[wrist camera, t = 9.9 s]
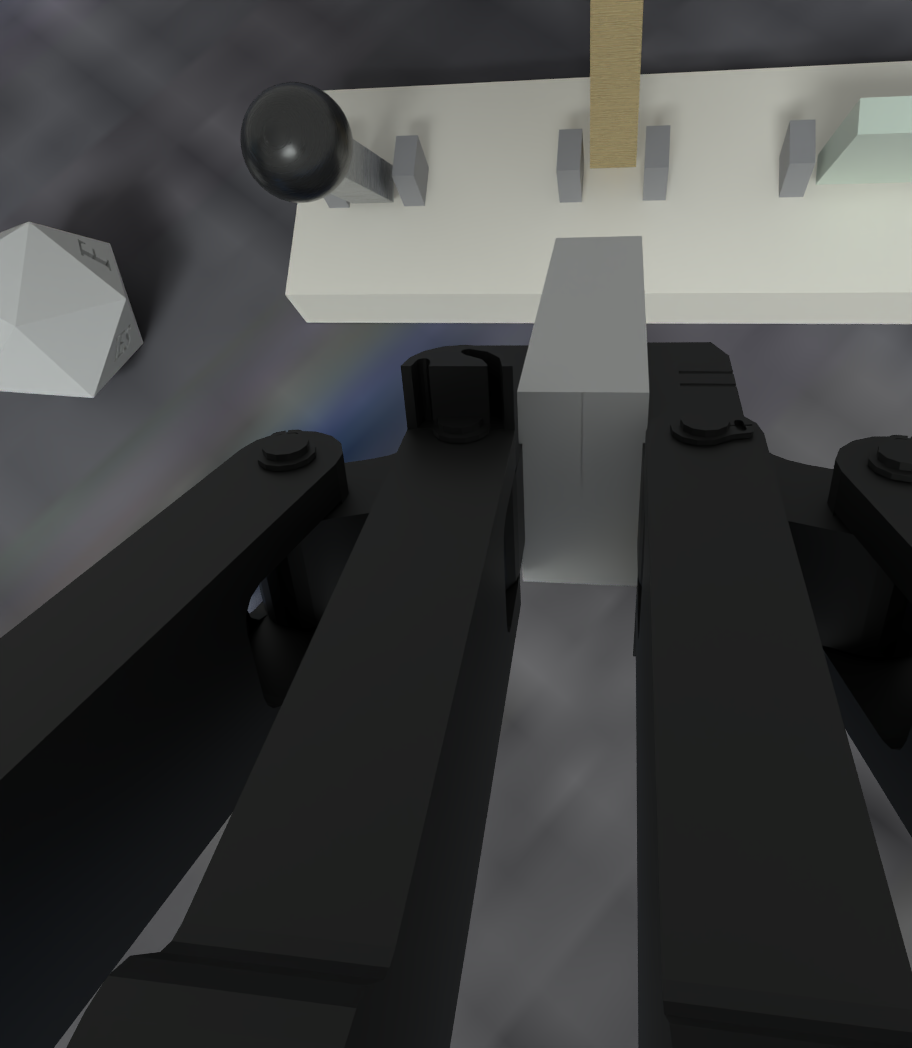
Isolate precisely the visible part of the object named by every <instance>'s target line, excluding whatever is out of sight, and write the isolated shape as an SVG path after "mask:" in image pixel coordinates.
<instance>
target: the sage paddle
mask: <svg viewBox="0 0 912 1048" xmlns="http://www.w3.org/2000/svg"><path fill="white" fill-rule="evenodd" d="M901 182H912V96H894V97H871V98H860V99H859V101H858V102H857V103H856V105H855V106H854V107H853V109H852V110H851V111H850V113H849V114H848V115H847V117H846V118H845V119H844V121H843V122H842V123H841V125H840V126H839V127H838V129H837V130H836V131H835V133H834V134H833V135H832V137H831V138H830V139H829V141H828V142H827V143H826V145H825V146H824V147H823V149H822V150H821V151H820V153H819V154H818V158H817V172H816V185H824V184H862V183H901Z"/></svg>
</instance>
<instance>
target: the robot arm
mask: <svg viewBox="0 0 912 1048" xmlns="http://www.w3.org/2000/svg"><path fill="white" fill-rule="evenodd" d="M401 372H402V382H403V391H404V400H405V409H406V419H407V428H408V429H407V432H406V434H405V436H404V438H403V440H402V443H401V445H400V447H399V449H398V451H397V453H395V454H392V455H389V456H384V457H379V458H375V459H369V460H362V461H355V462H348V463H344V458H343V452H342V446H341V443H340V442H339V441H337V440H336V439H335V438H334V437H332V436H330V435H326V434H323V433H319V432H310V431H301V430H288V432H286V431H281V432H276V433H273V434H272V435H271V436H268V437H265V438H262V439H259V440H256V441H254V442H253V443H251V444H249V445H247V446H246V447H244V448H242V449H241V450H239V451H238V452H237V453H236V454H234V455H233V456H232V457H231V458H229V459H228V460H227V461H225V462H224V463H223V464H222V465H220V466H219V467H218V468H217V469H215V470H214V471H213V472H211V473H210V474H209V475H208V476H206V477H205V478H204V479H203V480H201V481H200V482H199V483H197V484H196V485H195V486H194V487H192V488H191V489H190V490H189V491H187V492H186V493H185V494H183V495H182V496H181V497H180V498H178V499H177V500H176V501H175V502H173V503H172V504H171V505H169V506H168V507H167V508H166V509H164V510H163V511H162V512H161V513H159V514H158V515H157V516H155V517H154V518H153V519H152V520H150V521H149V522H148V523H147V524H145V525H144V526H143V527H141V528H140V529H139V530H138V531H136V532H135V533H134V534H133V535H131V536H130V537H129V538H127V539H126V540H125V541H124V542H122V543H121V544H120V545H119V546H117V547H116V548H115V549H113V550H112V551H111V552H110V553H108V554H107V555H106V556H105V557H103V558H102V559H101V560H99V561H98V562H97V563H96V564H94V565H93V566H92V567H91V568H89V569H88V570H87V571H85V572H84V573H83V574H82V575H80V576H79V577H78V578H77V579H75V580H74V581H73V582H71V583H70V584H69V585H68V586H66V587H65V588H64V589H63V590H61V591H60V592H59V593H57V594H56V595H55V596H54V597H52V598H51V599H50V600H49V601H47V602H46V603H45V604H43V605H42V606H41V607H40V608H38V609H37V610H36V611H35V612H33V613H32V614H31V615H29V616H28V617H27V618H26V619H24V620H23V621H22V622H21V623H19V624H18V625H17V626H15V627H14V628H13V629H12V630H10V631H9V632H8V633H7V634H5V635H4V636H3V637H1V638H0V1048H54V1047H55V1045H56V1044H57V1043H58V1041H59V1040H60V1039H61V1037H62V1036H63V1035H64V1034H65V1032H66V1031H67V1030H68V1028H69V1027H70V1026H71V1024H72V1023H73V1022H74V1020H75V1019H76V1018H77V1016H78V1015H79V1014H80V1012H81V1011H82V1010H83V1008H84V1007H85V1006H86V1005H87V1003H88V1002H89V1001H90V999H91V998H92V997H93V995H94V994H95V993H96V991H97V990H98V989H99V987H100V986H101V985H102V986H101V987H100V989H99V990H98V992H97V994H96V995H95V997H94V998H93V1000H92V1002H91V1003H90V1005H89V1006H88V1008H87V1009H86V1011H85V1013H84V1015H83V1016H82V1018H81V1020H80V1022H79V1024H78V1026H77V1028H76V1030H75V1032H74V1034H73V1036H72V1038H71V1040H70V1042H69V1044H68V1046H67V1048H450V1042H451V1036H452V1030H453V1024H454V1018H455V1011H456V1005H457V999H458V993H459V986H460V980H461V974H462V968H463V961H464V955H465V949H466V943H467V936H468V930H469V924H470V918H471V912H472V905H473V899H474V893H475V887H476V880H477V874H478V868H479V862H480V855H481V849H482V843H483V837H484V831H485V824H486V818H487V812H488V806H489V799H490V793H491V787H492V781H493V774H494V768H495V762H496V756H497V749H498V743H499V737H500V731H501V725H502V718H503V712H504V706H505V700H506V693H507V687H508V681H509V675H510V668H511V662H512V656H513V650H514V643H515V637H516V631H517V625H518V619H519V612H520V606H521V596H520V568H521V562H522V564H523V581H530V582H552V583H575V584H597V585H620V586H637V595H636V613H635V631H634V649H633V656H636V731H637V888H638V1044H639V1048H912V971H911V968H910V964H909V960H908V957H907V953H906V949H905V946H904V942H903V938H902V935H901V931H900V927H899V924H898V920H897V917H896V913H895V909H894V906H893V902H892V898H891V895H890V891H889V887H888V884H887V880H886V876H885V873H884V869H883V866H882V862H881V858H880V855H879V851H878V847H877V844H876V840H875V836H874V833H873V829H872V825H871V822H870V818H869V815H868V811H867V807H866V804H865V800H864V796H863V793H862V789H861V785H860V782H859V778H858V774H857V771H856V767H855V764H854V760H853V756H852V753H851V749H850V745H849V742H848V738H847V734H846V731H847V732H848V734H849V736H850V737H851V739H852V741H853V742H854V744H855V746H856V747H857V749H858V750H859V752H860V754H861V755H862V757H863V759H864V760H865V762H866V763H867V765H868V767H869V768H870V770H871V772H872V773H873V775H874V777H875V778H876V780H877V781H878V783H879V785H880V786H881V788H882V790H883V791H884V793H885V794H886V796H887V798H888V799H889V801H890V803H891V804H892V806H893V808H894V809H895V811H896V812H897V814H898V816H899V817H900V819H901V821H902V822H903V824H904V825H905V827H906V829H907V830H908V832H909V834H910V835H911V837H912V437H911V439H910V438H908V436H902V435H892V436H890V437H869V438H864V439H859V440H855V441H852V442H850V443H849V444H847V445H845V446H843V447H842V448H840V449H839V452H838V454H837V457H836V460H835V465H834V469H828V468H823V467H817V466H811V465H806V464H802V463H798V462H793V461H789V460H786V459H783V458H781V457H778V456H775V455H773V454H771V453H769V450H768V447H767V443H766V439H765V436H764V433H763V432H762V430H761V429H760V427H759V426H758V425H757V423H755V422H753V421H751V420H750V419H748V418H746V417H744V415H743V411H742V407H741V403H740V399H739V395H738V391H737V387H736V382H735V378H734V374H733V370H732V366H731V362H730V358H729V355H727V354H726V353H725V352H723V351H722V350H721V349H719V348H718V347H717V346H715V345H714V344H712V343H711V342H682V343H647V332H646V311H645V290H644V269H643V248H642V236H615V237H574V238H556V240H555V244H554V248H553V252H552V256H551V260H550V264H549V267H548V271H547V275H546V279H545V283H544V287H543V291H542V295H541V299H540V303H539V307H538V311H537V315H536V319H535V323H534V327H533V331H532V335H531V339H530V343H529V346H472V345H458V346H445V347H440V348H435V349H431V350H427V351H423V352H421V353H419V354H417V355H415V356H412V357H410V358H409V359H408V360H407V361H406V362H405V363H404V364H402V365H401ZM258 585H259V587H260V591H261V595H262V599H263V601H262V603H261V604H260V605H259V606H258V607H257V608H256V609H255V610H254V611H253V612H251V613H250V614H249V613H248V611H247V610H248V606H249V602H250V599H251V596H252V595H253V593H254V592H255V590H256V589H257V587H258ZM845 729H846V731H845ZM232 812H233V813H232ZM231 814H232V815H231ZM230 815H231V817H230V820H229V822H228V824H227V826H226V828H225V830H224V833H223V835H222V837H221V839H220V841H219V844H218V846H217V848H216V850H215V852H214V855H213V857H212V859H211V861H210V863H209V866H208V868H207V870H206V872H205V874H204V876H203V879H202V881H201V883H200V885H199V887H198V890H197V892H196V894H195V896H194V898H193V901H192V903H191V905H190V907H189V909H188V912H187V914H186V916H185V918H184V920H183V923H182V924H181V926H180V928H179V929H178V931H177V933H176V935H175V936H174V938H173V940H172V941H171V942H170V943H169V944H168V945H167V946H166V947H165V948H164V949H163V950H162V951H161V952H157V953H149V954H141V955H133V956H130V957H128V958H127V959H126V960H125V961H124V962H123V963H122V964H121V965H119V966H118V967H117V968H116V969H115V970H114V971H113V972H112V970H113V969H114V968H115V966H116V965H117V964H118V962H119V961H120V960H121V958H122V957H123V956H124V954H125V953H126V952H127V951H128V949H129V948H130V947H131V945H132V944H133V943H134V941H135V940H136V939H137V937H138V936H139V935H140V933H141V932H142V931H143V929H144V928H145V927H146V925H147V924H148V923H149V922H150V920H151V919H152V918H153V916H154V915H155V914H156V912H157V911H158V910H159V908H160V907H161V906H162V904H163V903H164V902H165V900H166V899H167V898H168V897H169V895H170V894H171V893H172V891H173V890H174V889H175V887H176V886H177V885H178V883H179V882H180V881H181V879H182V878H183V877H184V875H185V874H186V873H187V871H188V870H189V869H190V868H191V866H192V865H193V864H194V862H195V861H196V860H197V858H198V857H199V856H200V854H201V853H202V852H203V850H204V849H205V848H206V846H207V845H208V844H209V842H210V841H211V840H212V839H213V837H214V836H215V835H216V833H217V832H218V831H219V829H220V828H221V827H222V825H223V824H224V823H225V821H226V820H227V819H228V817H229V816H230ZM103 982H104V983H103ZM102 983H103V984H102Z"/></svg>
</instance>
